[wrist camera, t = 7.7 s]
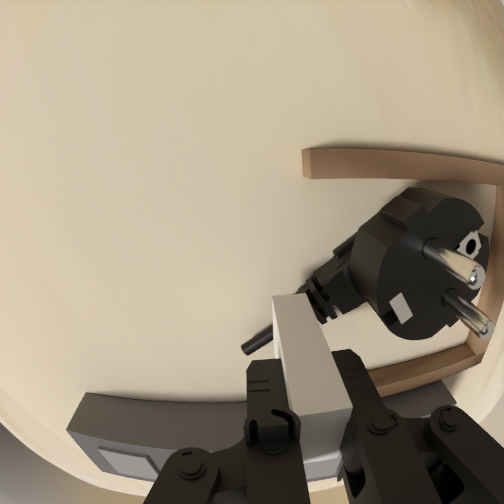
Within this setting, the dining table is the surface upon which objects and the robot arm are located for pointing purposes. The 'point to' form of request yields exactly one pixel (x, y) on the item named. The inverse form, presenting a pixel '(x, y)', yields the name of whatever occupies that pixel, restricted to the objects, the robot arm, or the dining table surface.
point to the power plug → (406, 269)
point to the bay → (499, 264)
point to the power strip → (196, 429)
